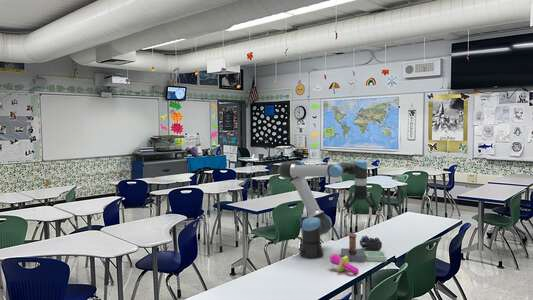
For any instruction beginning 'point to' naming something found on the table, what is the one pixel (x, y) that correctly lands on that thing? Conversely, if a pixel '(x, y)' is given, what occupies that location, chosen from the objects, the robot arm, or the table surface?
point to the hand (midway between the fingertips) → (359, 218)
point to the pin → (352, 243)
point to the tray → (375, 256)
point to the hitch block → (353, 255)
